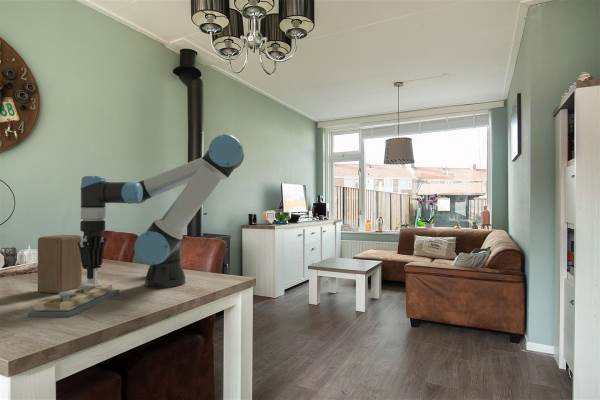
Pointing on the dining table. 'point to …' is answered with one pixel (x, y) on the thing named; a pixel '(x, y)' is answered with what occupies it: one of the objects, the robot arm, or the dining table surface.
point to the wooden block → (59, 263)
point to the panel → (73, 298)
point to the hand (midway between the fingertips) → (92, 287)
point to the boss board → (76, 310)
